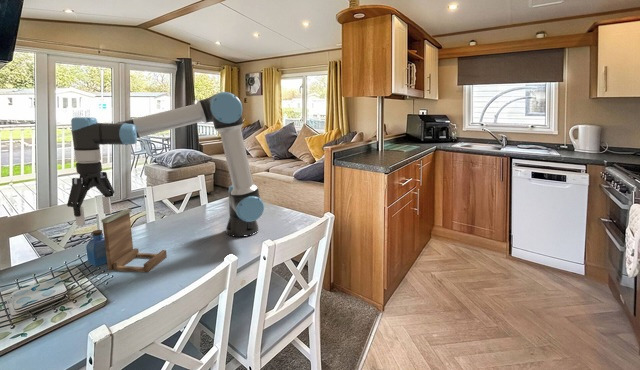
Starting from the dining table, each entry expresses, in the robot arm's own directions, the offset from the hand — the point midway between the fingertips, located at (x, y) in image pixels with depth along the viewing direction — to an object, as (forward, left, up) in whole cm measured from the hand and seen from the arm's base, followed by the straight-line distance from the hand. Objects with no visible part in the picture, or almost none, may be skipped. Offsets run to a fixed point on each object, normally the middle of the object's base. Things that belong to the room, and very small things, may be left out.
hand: (95, 218), depth 124 cm
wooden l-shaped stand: (-15, 0, -17) cm, 23 cm away
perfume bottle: (0, 0, -17) cm, 17 cm away
